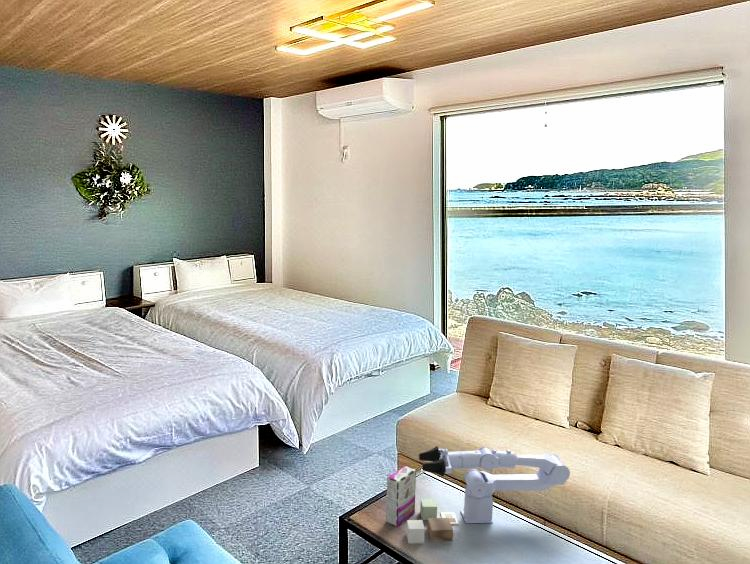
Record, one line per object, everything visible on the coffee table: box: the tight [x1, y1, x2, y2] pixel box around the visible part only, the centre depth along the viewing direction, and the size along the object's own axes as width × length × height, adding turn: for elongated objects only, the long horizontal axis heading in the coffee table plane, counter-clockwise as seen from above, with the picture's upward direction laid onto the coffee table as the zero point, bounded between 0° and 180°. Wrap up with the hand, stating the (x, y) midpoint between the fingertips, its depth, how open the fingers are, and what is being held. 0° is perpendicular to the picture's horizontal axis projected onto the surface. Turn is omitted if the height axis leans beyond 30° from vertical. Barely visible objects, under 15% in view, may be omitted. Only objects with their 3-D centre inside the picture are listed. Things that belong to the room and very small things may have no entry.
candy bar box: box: [385, 465, 417, 527], centre depth 190 cm, size 11×5×16 cm, turn 143°
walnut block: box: [426, 517, 454, 542], centre depth 181 cm, size 7×7×4 cm
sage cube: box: [419, 498, 438, 521], centre depth 192 cm, size 5×5×5 cm
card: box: [439, 511, 460, 526], centre depth 191 cm, size 5×7×1 cm
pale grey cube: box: [406, 519, 425, 544], centre depth 179 cm, size 5×5×5 cm
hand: (420, 461), depth 188 cm, fingers open, 7 cm apart
